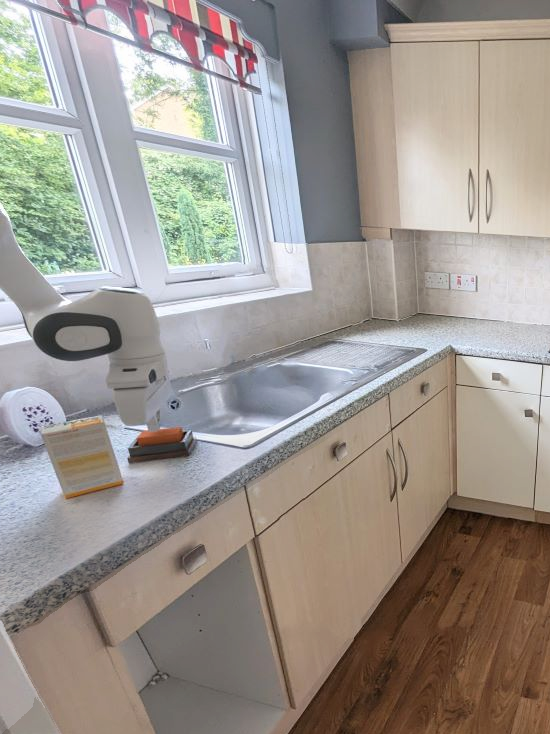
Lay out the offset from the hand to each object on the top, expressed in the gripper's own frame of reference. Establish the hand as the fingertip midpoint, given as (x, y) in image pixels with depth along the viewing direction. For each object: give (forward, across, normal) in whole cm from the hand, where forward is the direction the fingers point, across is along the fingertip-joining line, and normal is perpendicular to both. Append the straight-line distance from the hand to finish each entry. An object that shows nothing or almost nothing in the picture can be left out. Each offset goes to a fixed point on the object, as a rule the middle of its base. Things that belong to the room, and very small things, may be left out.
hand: (155, 429), depth 97 cm
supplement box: (+6, +13, -7) cm, 16 cm away
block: (+4, 0, +1) cm, 4 cm away
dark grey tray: (+6, 0, 0) cm, 6 cm away
